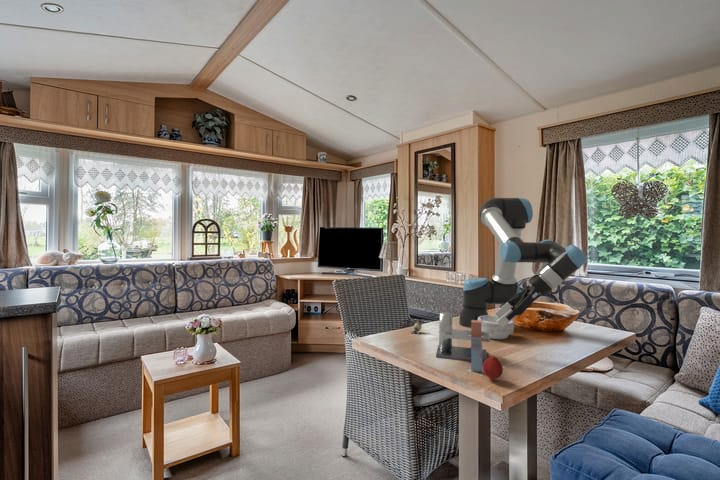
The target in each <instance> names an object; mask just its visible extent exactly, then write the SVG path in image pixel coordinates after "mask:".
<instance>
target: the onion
mask: <svg viewBox="0 0 720 480" xmlns="http://www.w3.org/2000/svg"><path fill="white" fill-rule="evenodd" d="M503 371H504V370H503V366H502V363H501V361H500V360H499V359H498V358H497V357H496V356H495V355H494V354H491V355H490V357H488V359H486V360H485V361H484V362H483V365H482V372H483V373H484V375H485V376H487V378H489V380H490V381H496V380H497V379H499V378H500V377H501V376H502V375H503Z"/></svg>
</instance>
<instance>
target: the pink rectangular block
mask: <svg viewBox="0 0 720 480" xmlns="http://www.w3.org/2000/svg"><path fill="white" fill-rule="evenodd" d="M470 328H471V330H470V331H471V335H470V336H479V337H482V336H481V332H482V331H481V328H482V322H481V321H478V320H472V321H471V327H470Z"/></svg>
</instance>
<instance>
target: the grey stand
mask: <svg viewBox="0 0 720 480" xmlns="http://www.w3.org/2000/svg"><path fill="white" fill-rule="evenodd" d="M438 320H439V321H438V322H439V327H438V328H439V331H438V334H439V335H438V345H437V346H438V347H437V349H436V353H435V358H441V359H450V360H451V359H452V360H460V361H461V360H462V361H469V362H470V372H473V373H474V372H476V373H483V363H484V361H485V360H486V359H488V358H489V357H488V352H487V349H484V348H483V342H485V343H490V340H491V338H489V334H488V332H482V331H481V337H479V336H471V330H469V329H468V330H466V329H457V328H453V313H451V312H445V311H443V312H439V319H438ZM453 339H454V340H464V341H465V340H466V341H470V347H465V346H464V347H463V346H453Z"/></svg>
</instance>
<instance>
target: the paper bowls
mask: <svg viewBox="0 0 720 480" xmlns="http://www.w3.org/2000/svg"><path fill="white" fill-rule="evenodd" d="M498 320H499V317H498V316H497V315H489V314H488V315H486V316H480V317H478V321H481V322H482V328H481V332H488V334H489V338H490V340H491V339H493V340H505V339H508V337H509V335H511V334H513V333H514V330H515V329H514V328H515V327H514V326H515V321H514V319H513V320H511V321H510V322H509V323H508V324H507V325H505V326H504V327H503V328H502V326H501V325H500V324H499V323H498V322H497V321H498Z"/></svg>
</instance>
